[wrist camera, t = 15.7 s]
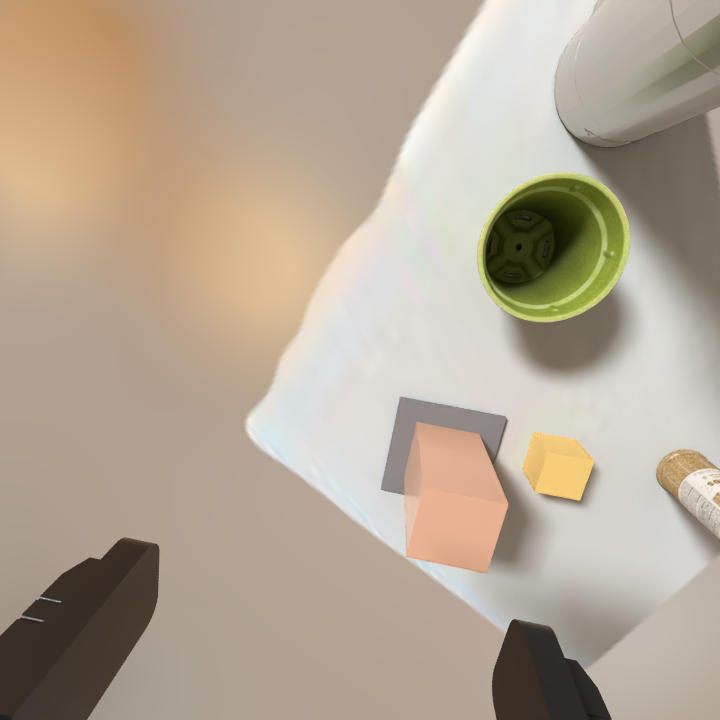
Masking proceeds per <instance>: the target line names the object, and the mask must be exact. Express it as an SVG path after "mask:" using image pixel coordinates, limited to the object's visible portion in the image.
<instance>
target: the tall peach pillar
mask: <svg viewBox="0 0 720 720" xmlns="http://www.w3.org/2000/svg"><path fill="white" fill-rule="evenodd" d="M404 488H405V528H406V557H409V558H414V559H419V560H424V561H429V562H434V563H438V564H443V565H448V566H453V567H458V568H463V569H468V570H473V571H478V572H482V573H487V571H488V568H489V565H490V562H491V558H492V555H493V552H494V549H495V546H496V543H497V540H498V536H499V533H500V530H501V527H502V524H503V521H504V518H505V514H506V511H507V508H508V505H509V504H508V502H507V499H506V497H505V494H504V492H503V490H502V487H501V485H500V482H499V480H498V478H497V475H496V473H495V470H494V468H493V466H492V463H491V461H490V458H489V456H488V454H487V451H486V449H485V446H484V444H483V442H482V439H481V437H480V434H477V433H472V432H467V431H462V430H456V429H451V428H446V427H441V426H436V425H430V424H425V423H420V422H417V423H416V427H415V431H414V436H413V440H412V444H411V449H410V453H409V458H408V462H407V466H406V471H405V475H404Z"/></svg>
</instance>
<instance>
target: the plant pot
mask: <svg viewBox="0 0 720 720" xmlns="http://www.w3.org/2000/svg"><path fill="white" fill-rule="evenodd" d="M519 215H527V216H529V217H531V220H530V221H527V220H523V219H514V217H516V216H519ZM491 236H492V237H493V239H492V242H491V247H490V253H488V252H487V241H488V239H489V237H491ZM546 241H548V242H549V251H548V254H547V256H546V257H543V253H544V250H545V246H546ZM517 244H521V246H522V247H521V249H520V250H516V245H517ZM629 250H630V228H629V223H628V218H627V215H626V213H625V210H624V208H623V207H622V204H621V203H620V201H619V200H618V199H617V197H616V196H615V195H614V194H613V192H612V191H611V190H610V189H609V188H607V187H606V186H605V185H604V184H602V183H601V182H599V181H597V180H595V179H593V178H591V177H588V176H585V175H581V174H577V173H568V172H563V173H551V174H546V175H542V176H539V177H536V178H533V179H531V180H529V181H527V182H525V183H523V184H521V185H519V186H518V187H516V188H515V189H514V190H512V191H511V192H510V193H508V194H507V195H506V196H505V197H504V198H503V199H502V200H501V201H500V202H499V203H498V204H497V206H496V207H495V208H494V209H493V211H492V212H491V214H490V215H489V217H488V219H487V221H486V223H485V225H484V227H483V230H482V233H481V236H480V240H479V244H478V255H477V260H478V269H479V274H480V277H481V280H482V283H483V285H484V287H485V289H486V291H487V293H488V294H489V296H490V297H491V298H492V300H493V301H494V302H495V303H496V304H497V305H498V306H499V307H500V308H502V309H503V310H504V311H506V312H507V313H509V314H511V315H513V316H515V317H517V318H520V319H523V320H527V321H532V322H556V321H561V320H565V319H569V318H572V317H575V316H577V315H579V314H581V313H583V312H585V311H587V310H588V309H590V308H592V307H593V306H595V305H596V304H598V303H599V302H600V301H601V300H602V299H603V298H604V297H605V296H606V295H607V294H608V293H609V292H610V291H611V290H612V288H613V287H614V286H615V284H616V283H617V281H618V280H619V278H620V276H621V275H622V272H623V270H624V268H625V266H626V262H627V259H628V255H629ZM505 272H507V273H512V274H520V275H521V276H520V277H518V278H509V277H506V276H505V275H504V273H505Z"/></svg>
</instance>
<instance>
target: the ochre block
mask: <svg viewBox="0 0 720 720" xmlns="http://www.w3.org/2000/svg"><path fill="white" fill-rule="evenodd" d="M594 462H595V461H594V460H593V458H592V457H591V456H590V455H589V454H588V453H587V452H586V450H585V449H584V448H583V447H582V446H581V445H580V444H579V443H578V441H577V440H575V439H569V438H564V437H559V436H553V435H548V434H542V433H537V432H534V433H533V436H532V439H531V442H530V445H529V449H528V452H527V455H526V458H525V461H524V464H523V468H522V469H523V471H524V473H525V475H526V477H527V479H528V480H529V482H530V484H531V486H532V488H533V490H534V492H538V493H543V494H548V495H553V496H558V497H564V498H569V499H574V500H579V501H580V499H581V497H582V494H583V491H584V489H585V486H586V483H587V480H588V478H589V475H590V472H591V470H592V467H593V464H594Z"/></svg>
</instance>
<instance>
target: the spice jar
mask: <svg viewBox="0 0 720 720" xmlns="http://www.w3.org/2000/svg"><path fill="white" fill-rule="evenodd" d="M657 479H658V481H659V483H660V484H661V485H662V487H663V488H665V489H666V490H668V491H669V492H671V493H672V494H673V495H674V496H675V497H676V498H677V499H678V500H679V501H680V502H681V503H682V505H683V506H684V507H685V508H686V509H687V510H688V511H690V512H691V513H692V514H693V515H694V516H695V517H696V518H697V519H698V520H699V521H700V522H701V523H702V524H703V525H704V526H705V527H706V528H708V529H709V530H710V531H711V532H712V533H713V534H714V535H715V536H716V537H717V538H718V539H719V540H720V469H718V468H717V467H716V466H715V465H713V464H712V463H711V462H709V461H708V460H707V459H706V457H704V456H703V455H702V454H700V453H698V452H696V451H692V450H679V451H676V452H672V453H670V454H669V455H668V456H666V457H665V458H664V459H663V460H662V461H661V462H660V464H659V466H658V468H657Z"/></svg>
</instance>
